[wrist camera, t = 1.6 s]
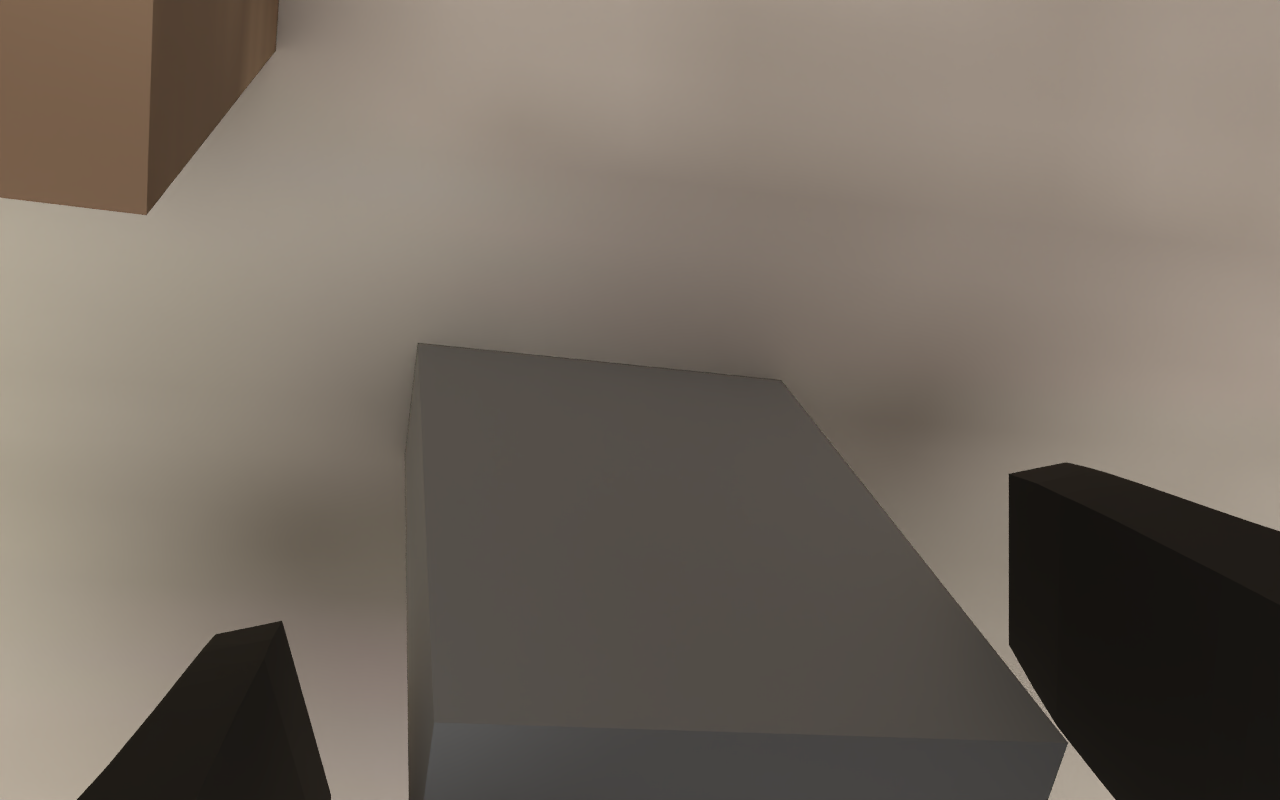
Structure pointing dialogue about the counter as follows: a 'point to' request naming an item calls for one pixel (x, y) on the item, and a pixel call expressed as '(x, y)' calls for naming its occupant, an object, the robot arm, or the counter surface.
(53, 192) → the walnut domino
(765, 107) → the counter surface
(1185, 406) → the counter surface
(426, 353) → the grey domino
